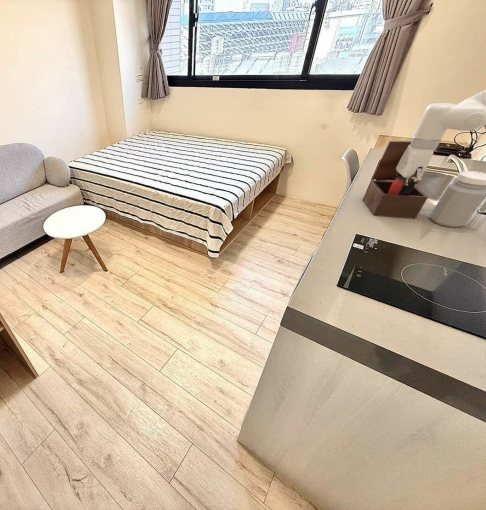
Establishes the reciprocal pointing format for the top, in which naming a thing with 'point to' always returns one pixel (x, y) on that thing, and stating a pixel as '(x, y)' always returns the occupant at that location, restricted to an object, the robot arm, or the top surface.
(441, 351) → the top surface
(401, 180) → the beer can
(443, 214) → the jar
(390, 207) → the storage box
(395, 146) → the box lid
